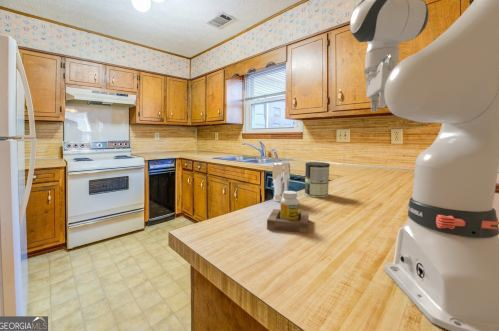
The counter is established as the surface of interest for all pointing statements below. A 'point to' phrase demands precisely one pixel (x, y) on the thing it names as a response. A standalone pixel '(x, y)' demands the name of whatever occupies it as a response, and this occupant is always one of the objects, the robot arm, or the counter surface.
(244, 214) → the counter surface
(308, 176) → the coffee can
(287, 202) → the supplement bottle
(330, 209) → the counter surface
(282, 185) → the beer glass
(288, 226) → the bottle holder
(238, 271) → the counter surface
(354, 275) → the counter surface
